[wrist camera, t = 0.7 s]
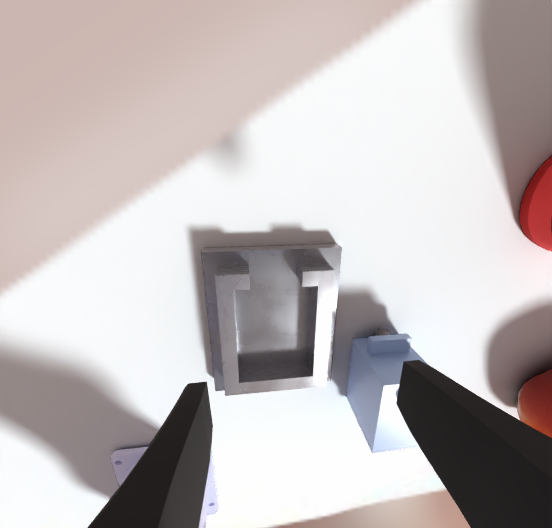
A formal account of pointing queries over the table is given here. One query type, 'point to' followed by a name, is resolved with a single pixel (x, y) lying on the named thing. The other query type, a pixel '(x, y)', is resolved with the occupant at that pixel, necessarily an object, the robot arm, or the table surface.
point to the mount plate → (271, 315)
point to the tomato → (537, 403)
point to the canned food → (538, 207)
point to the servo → (380, 389)
